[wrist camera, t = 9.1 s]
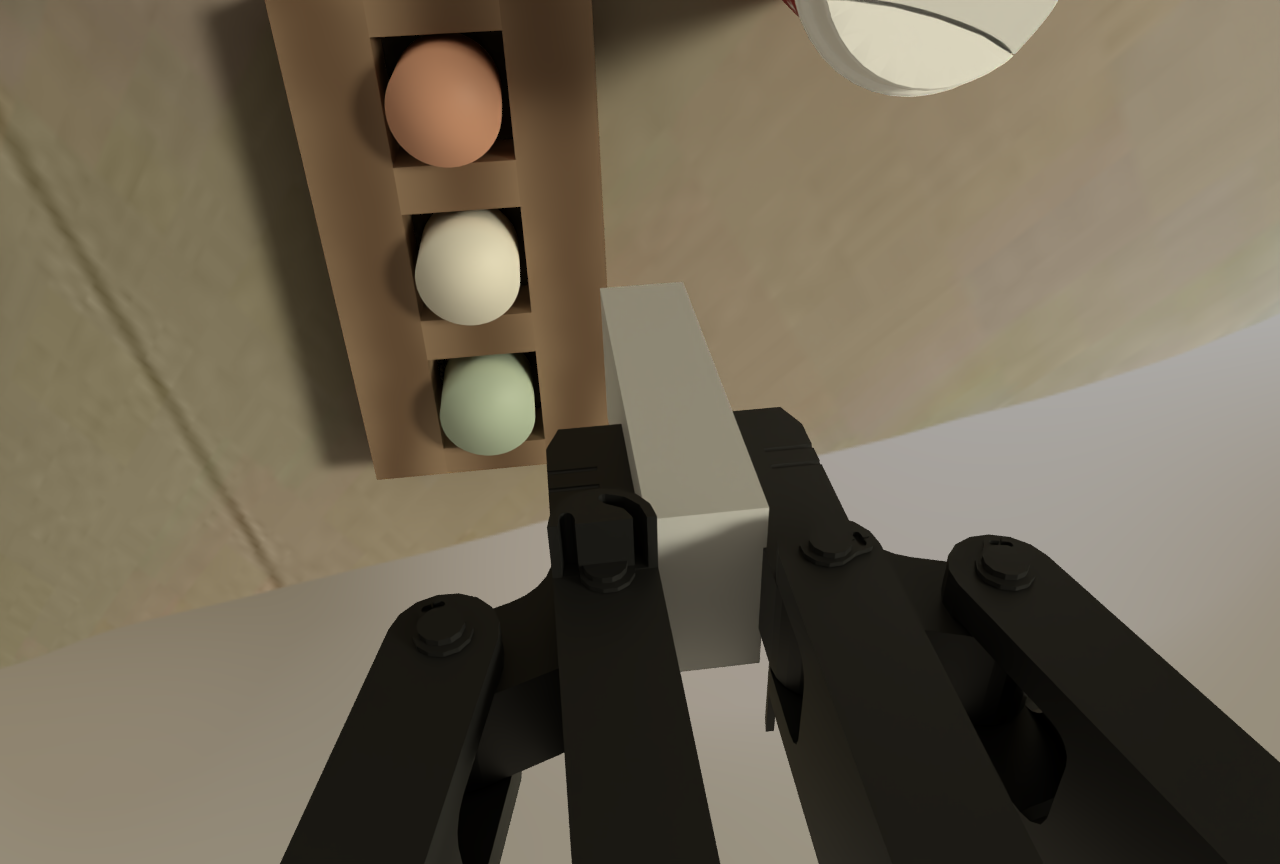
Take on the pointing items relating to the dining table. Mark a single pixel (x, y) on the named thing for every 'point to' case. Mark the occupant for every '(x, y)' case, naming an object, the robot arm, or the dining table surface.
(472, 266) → the cream rounded piece
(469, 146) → the brown egg
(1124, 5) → the dining table surface
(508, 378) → the pale green rounded block
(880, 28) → the coffee cup
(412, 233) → the walnut panel
